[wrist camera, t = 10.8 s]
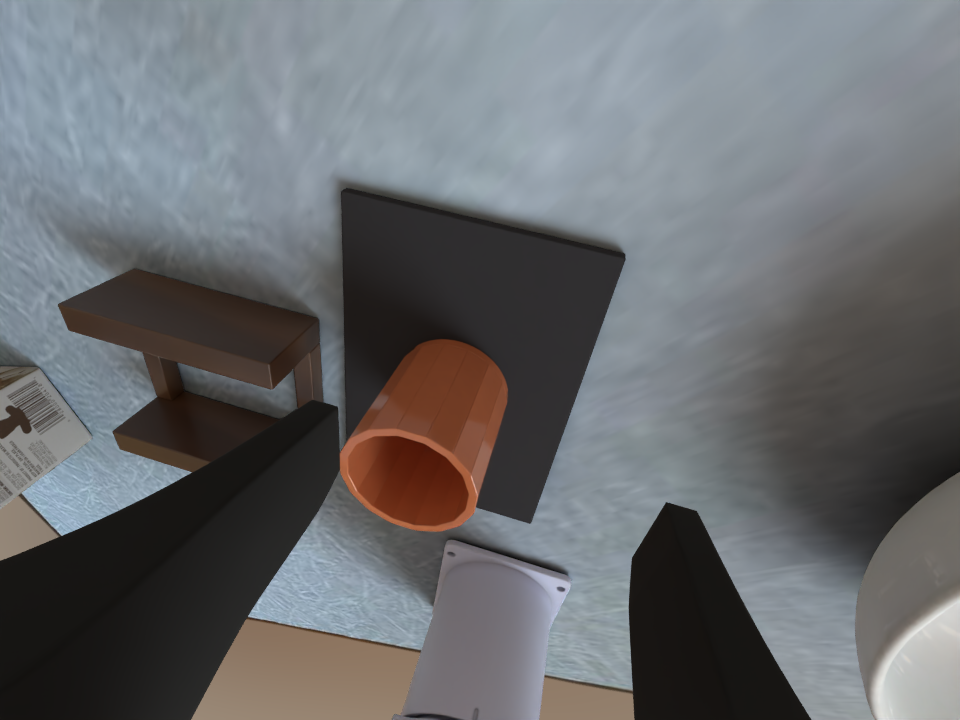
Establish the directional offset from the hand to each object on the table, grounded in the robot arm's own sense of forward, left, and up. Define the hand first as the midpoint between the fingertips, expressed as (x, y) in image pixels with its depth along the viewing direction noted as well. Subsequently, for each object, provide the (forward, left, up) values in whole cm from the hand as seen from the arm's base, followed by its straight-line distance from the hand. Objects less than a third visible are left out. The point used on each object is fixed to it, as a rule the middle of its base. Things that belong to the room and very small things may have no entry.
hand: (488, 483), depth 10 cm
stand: (-9, +15, -10) cm, 20 cm away
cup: (-6, +3, -10) cm, 12 cm away
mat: (-6, +3, -10) cm, 12 cm away
